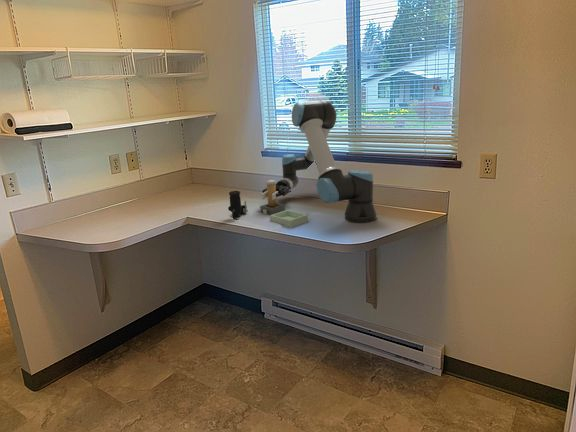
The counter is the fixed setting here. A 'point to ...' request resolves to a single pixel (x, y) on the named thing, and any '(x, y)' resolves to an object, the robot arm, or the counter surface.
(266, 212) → the socket block
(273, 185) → the cylinder
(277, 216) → the parts tray
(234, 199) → the scope
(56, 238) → the counter surface
